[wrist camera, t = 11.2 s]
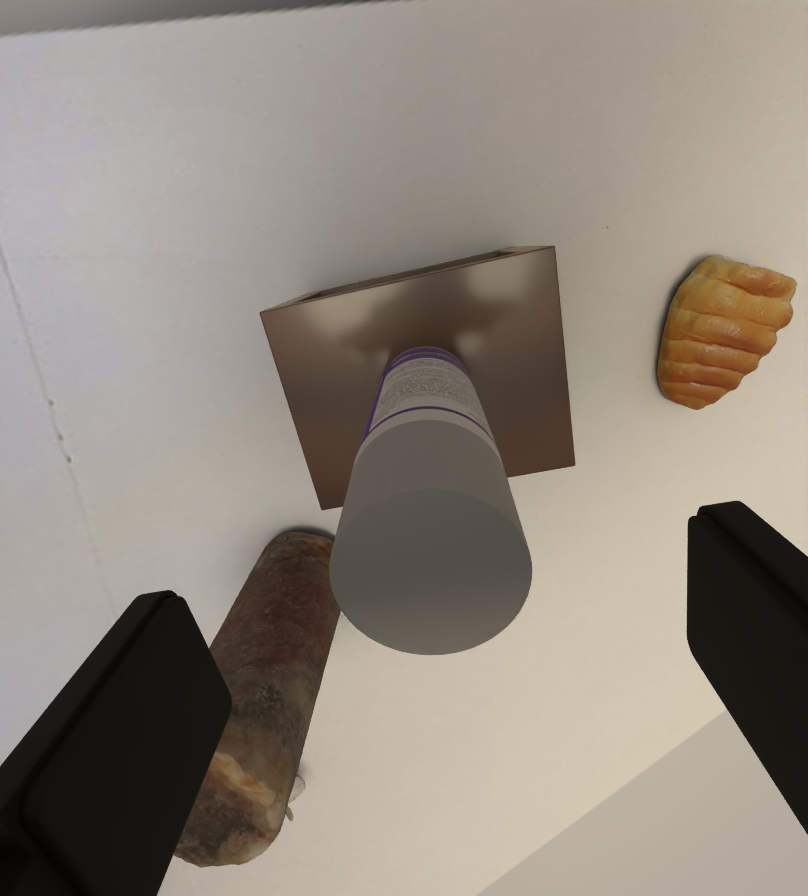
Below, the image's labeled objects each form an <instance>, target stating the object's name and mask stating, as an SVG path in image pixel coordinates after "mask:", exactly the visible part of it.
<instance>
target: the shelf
mask: <svg viewBox="0 0 808 896" xmlns="http://www.w3.org/2000/svg"><path fill="white" fill-rule="evenodd" d="M260 316H261V319H262V322H263V326H264V329H265V332H266V335H267V338H268V342H269V345H270V348H271V351H272V354H273V357H274V361H275V364H276V367H277V370H278V373H279V377H280V380H281V383H282V386H283V389H284V392H285V396H286V399H287V402H288V405H289V408H290V411H291V415H292V418H293V421H294V424H295V427H296V431H297V434H298V437H299V440H300V443H301V446H302V450H303V453H304V456H305V459H306V462H307V465H308V469H309V472H310V475H311V478H312V481H313V485H314V488H315V491H316V494H317V497H318V500H319V504H320V507H321V510H326V509H331V508H337V507H343V505H344V501H345V498H346V494H347V490H348V486H349V482H350V478H351V474H352V470H353V465H354V461H355V458H356V454H357V451H358V448H359V445H360V442H361V439H362V436H363V433H364V430H365V427H366V424H367V421H368V418H369V415H370V412H371V408H372V405H373V402H374V399H375V396H376V393H377V390H378V387H379V384H380V381H381V378H382V376H383V373H384V371H385V369H386V368H387V366H388V365H389V364H390V362H391V361H392V360H393V359H394V358H395V357H397V356H398V355H399V354H401V353H403V352H405V351H407V350H409V349H412V348H416V347H421V346H431V347H437V348H441V349H444V350H446V351H448V352H450V353H451V354H453V355H454V356H456V357H457V358H458V359H459V360H460V361H461V362H462V363H463V365H464V366H465V368H466V369H467V371H468V373H469V375H470V377H471V380H472V383H473V385H474V388H475V391H476V393H477V396H478V399H479V401H480V404H481V406H482V409H483V412H484V414H485V417H486V420H487V422H488V425H489V428H490V430H491V433H492V435H493V438H494V441H495V443H496V446H497V449H498V451H499V454H500V457H501V460H502V464H503V467H504V470H505V474H506V477H507V478H508V477H514V476H520V475H525V474H531V473H537V472H542V471H548V470H554V469H560V468H565V467H571V466H575V455H574V444H573V434H572V423H571V412H570V402H569V391H568V380H567V370H566V359H565V348H564V338H563V327H562V316H561V306H560V295H559V284H558V274H557V263H556V252H555V246H523V247H511V248H507V249H502V250H498V251H493V252H489V253H485V254H480V255H476V256H471V257H467V258H463V259H458V260H454V261H449V262H445V263H441V264H436V265H432V266H427V267H423V268H419V269H414V270H410V271H405V272H401V273H397V274H392V275H388V276H383V277H379V278H375V279H370V280H366V281H362V282H357V283H353V284H348V285H344V286H340V287H335V288H331V289H326V290H322V291H318V292H313V293H309V294H305V295H302V296H300V297H297V298H295V299H292V300H290V301H287V302H284V303H282V304H279V305H277V306H274V307H272V308H269V309H266V310H264V311H261V312H260Z"/></svg>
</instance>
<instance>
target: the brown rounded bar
mask: <svg viewBox="0 0 808 896" xmlns="http://www.w3.org/2000/svg"><path fill="white" fill-rule="evenodd" d="M333 545H334V542H333V541H331V540H330V539H328V538H326V537H323V536H317V535H312V534H308V533H302V532H300V533H299V532H288V533H284V534H282V535H280V536H279V537H276V538H275V539H274V540H272V541H271V542H270V543H269V544H268V545H267V546H266V548H265V549H264V551H263V552H262V554H261V556H260V557H259V559H258V561H257V563H256V564H255V566H254V568H253V570H252V571H251V573H250V575H249V577H248V578H247V580H246V582H245V584H244V586H243V588H242V590H241V591H240V593H239V595H238V597H237V598H236V600H235V602H234V604H233V606H232V608H231V610H230V611H229V613H228V615H227V617H226V619H225V621H224V623H223V624H222V626H221V628H220V630H219V632H218V634H217V635H216V637H215V639H214V640H213V642H212V644H211V646H210V648H209V650H210V652H211V654H212V656H213V658H214V660H215V662H216V664H217V666H218V668H219V671H220V673H221V675H222V677H223V679H224V681H225V683H226V685H227V687H228V689H229V691H230V694H231V697H232V710H231V714H230V717H229V719H228V722H227V724H226V726H225V729H224V731H223V734H222V736H221V739H220V741H219V744H218V746H217V749H216V751H215V753H214V756H213V758H212V761H211V763H210V766H209V768H208V771H207V773H206V776H205V778H204V780H203V783H202V785H201V788H200V790H199V793H198V795H197V798H196V800H195V803H194V805H193V807H192V810H191V812H190V815H189V817H188V820H187V822H186V825H185V827H184V830H183V832H182V834H181V837H180V839H179V842H178V844H177V847H176V849H175V852H174V854H173V855H174V856H176V857H179V858H182V859H183V860H184V861H185V862H189V863H192V864H194V865H197V866H199V867H208V866H223V865H230V864H236V865H241V864H243V863H247V862H249V861H250V860H252V859H254V858H256V857H257V856H259V855H261V854H262V853H263V852H264V851H265V850H266V849H267V848H268V847H269V846H270V845H271V843H272V842H273V841H274V840H275V838H276V837H277V836H278V834H279V832H280V830H281V827H282V824H283V821H284V818H285V814H286V809H287V805H288V802H289V798H290V795H291V792H292V789H293V786H294V782H295V778H296V774H297V771H298V767H299V763H300V759H301V756H302V751H303V747H304V744H305V740H306V736H307V732H308V729H309V725H310V721H311V718H312V714H313V710H314V706H315V702H316V698H317V695H318V692H319V689H320V685H321V681H322V677H323V673H324V669H325V665H326V662H327V658H328V655H329V651H330V647H331V644H332V640H333V637H334V633H335V629H336V626H337V622H338V619H339V615H340V612H341V609H340V607H339V605H338V603H337V601H336V599H335V597H334V594H333V591H332V587H331V583H330V576H329V564H330V557H331V552H332V548H333Z"/></svg>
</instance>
